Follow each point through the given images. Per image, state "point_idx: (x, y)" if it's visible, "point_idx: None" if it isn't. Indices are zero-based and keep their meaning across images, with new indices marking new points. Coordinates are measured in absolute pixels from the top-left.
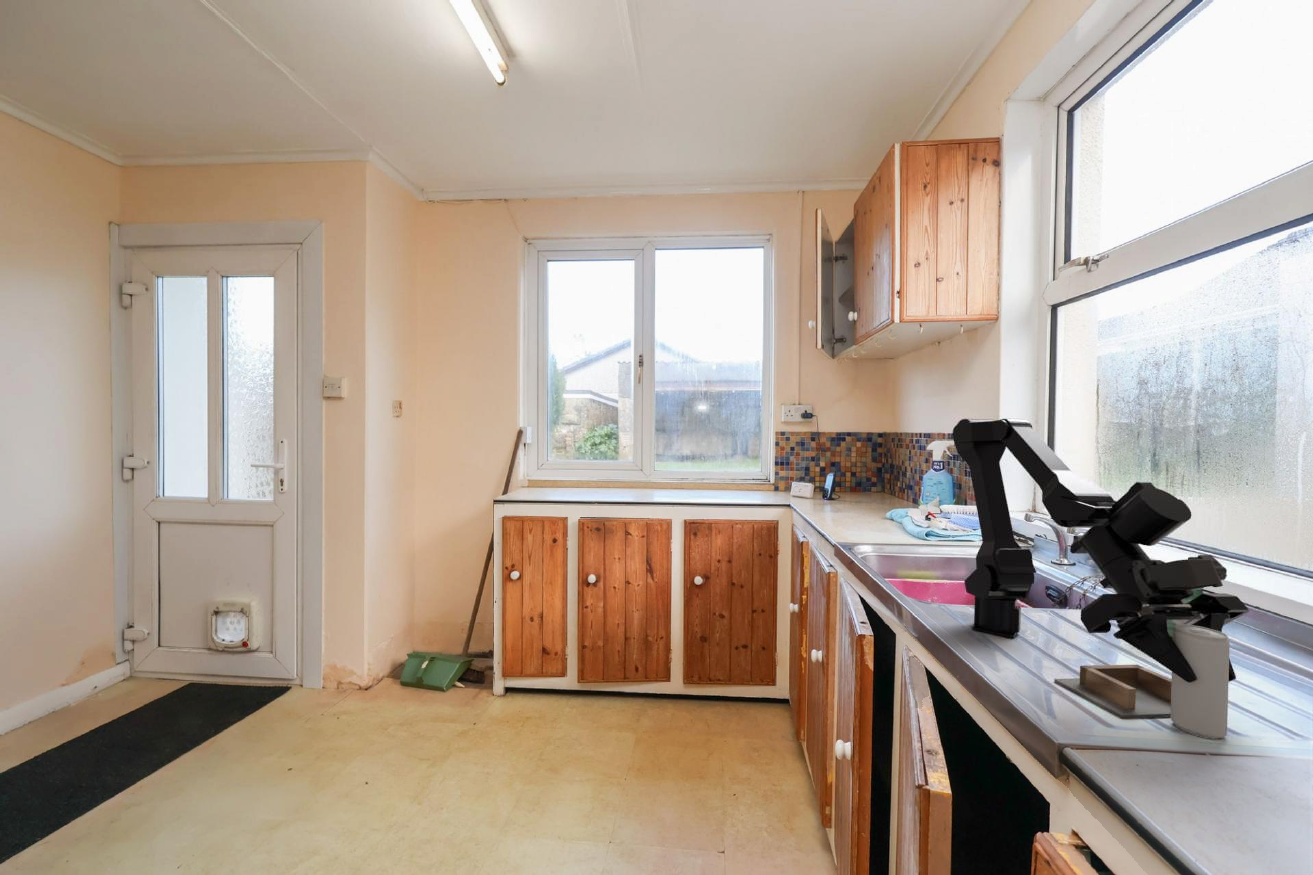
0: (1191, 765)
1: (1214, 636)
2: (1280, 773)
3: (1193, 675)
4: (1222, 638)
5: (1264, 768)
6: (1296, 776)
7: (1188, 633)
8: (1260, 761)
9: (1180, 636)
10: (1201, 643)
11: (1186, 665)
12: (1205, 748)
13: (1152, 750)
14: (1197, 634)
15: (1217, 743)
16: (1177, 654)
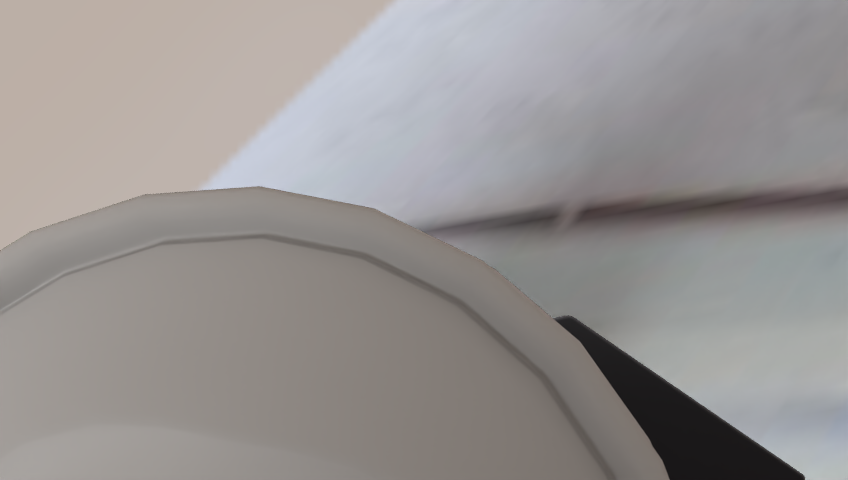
0: (727, 98)
1: (169, 336)
2: (363, 110)
3: (567, 330)
4: (123, 203)
5: (398, 137)
6: (314, 99)
7: (650, 476)
8: (361, 194)
9: None
10: (506, 279)
11: (616, 378)
12: (535, 267)
13: (833, 197)
14: (470, 428)
15: None
16: (719, 441)
